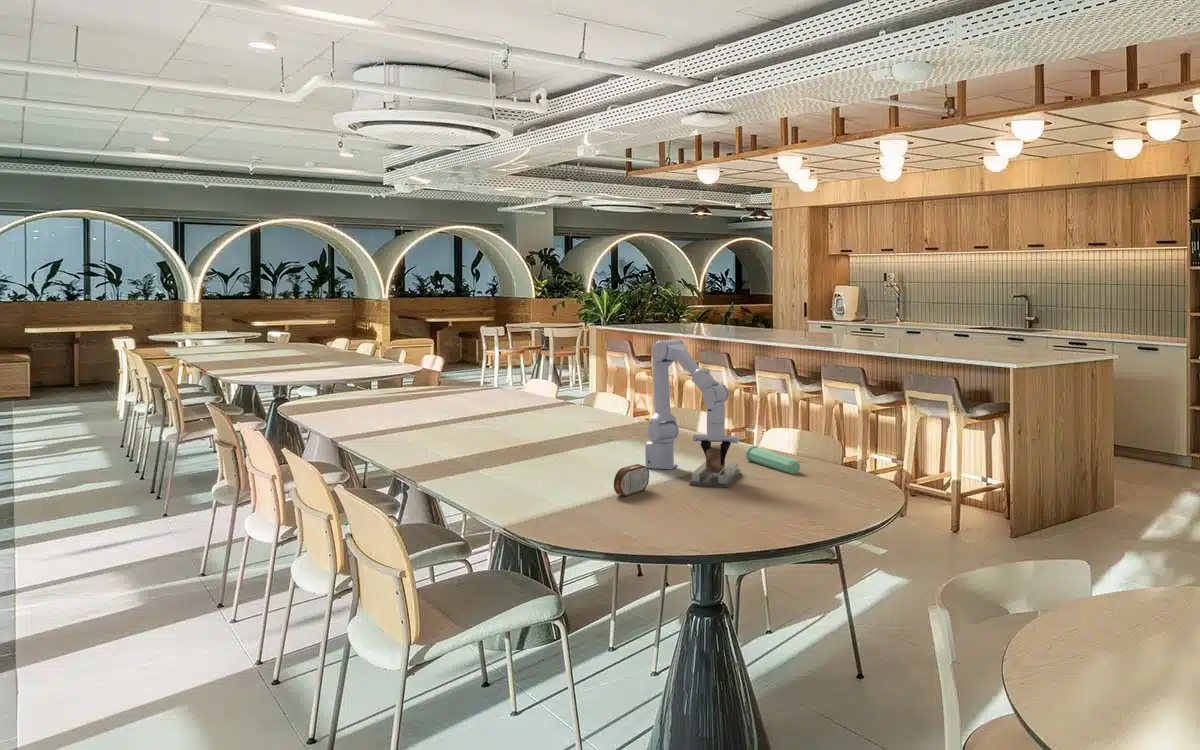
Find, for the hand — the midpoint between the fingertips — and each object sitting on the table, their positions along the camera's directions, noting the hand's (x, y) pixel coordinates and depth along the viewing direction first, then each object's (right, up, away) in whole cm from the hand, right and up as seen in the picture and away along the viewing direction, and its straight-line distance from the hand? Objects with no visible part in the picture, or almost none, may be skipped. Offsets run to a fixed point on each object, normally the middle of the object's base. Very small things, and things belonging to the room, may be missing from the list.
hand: (715, 464), depth 288 cm
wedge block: (0, -2, 0) cm, 2 cm away
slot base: (0, -5, +1) cm, 5 cm away
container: (+22, -3, +17) cm, 28 cm away
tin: (-27, -7, -17) cm, 33 cm away
